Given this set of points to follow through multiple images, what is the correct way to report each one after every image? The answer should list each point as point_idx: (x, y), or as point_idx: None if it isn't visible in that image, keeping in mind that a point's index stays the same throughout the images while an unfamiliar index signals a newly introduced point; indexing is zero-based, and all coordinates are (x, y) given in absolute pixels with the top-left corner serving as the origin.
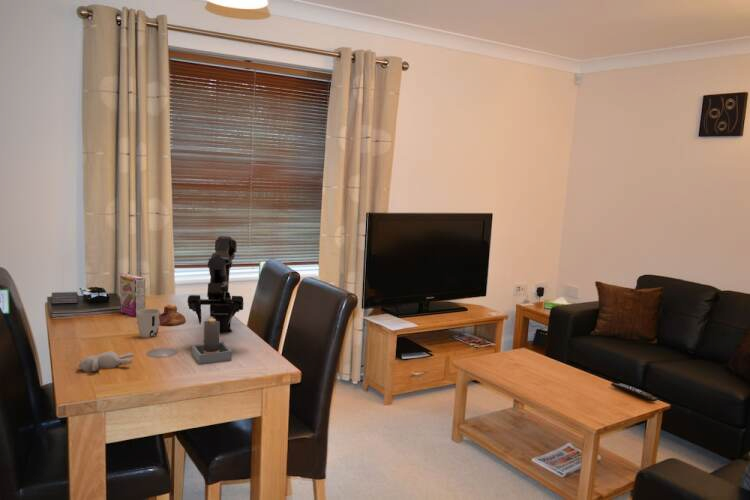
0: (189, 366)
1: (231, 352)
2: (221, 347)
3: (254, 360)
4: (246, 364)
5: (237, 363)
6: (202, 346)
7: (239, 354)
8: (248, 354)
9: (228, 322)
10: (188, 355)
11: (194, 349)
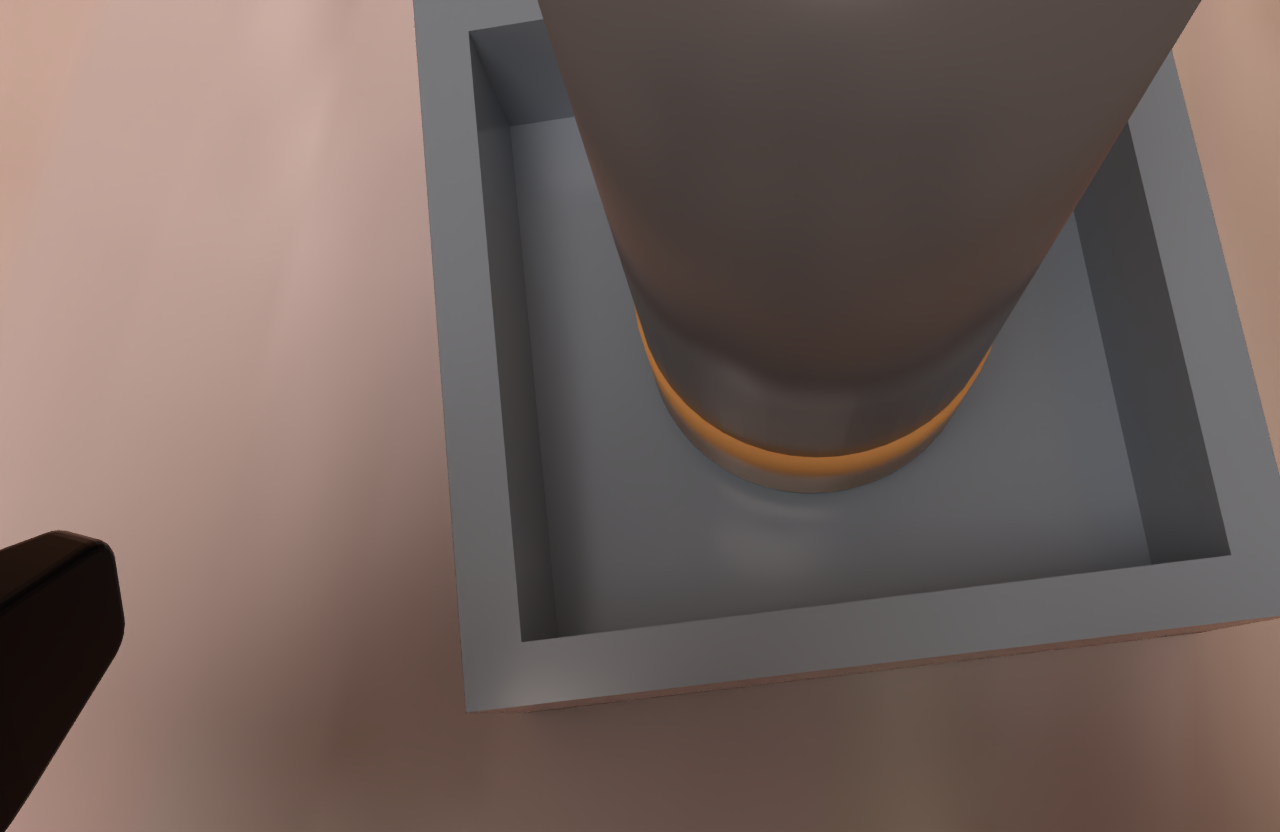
0: (1234, 97)
1: (423, 3)
2: (539, 633)
3: (68, 174)
4: (251, 13)
5: (380, 86)
6: (1013, 584)
7: (224, 562)
8: (64, 521)
9: (21, 564)
10: (1269, 760)
11: (1231, 306)
